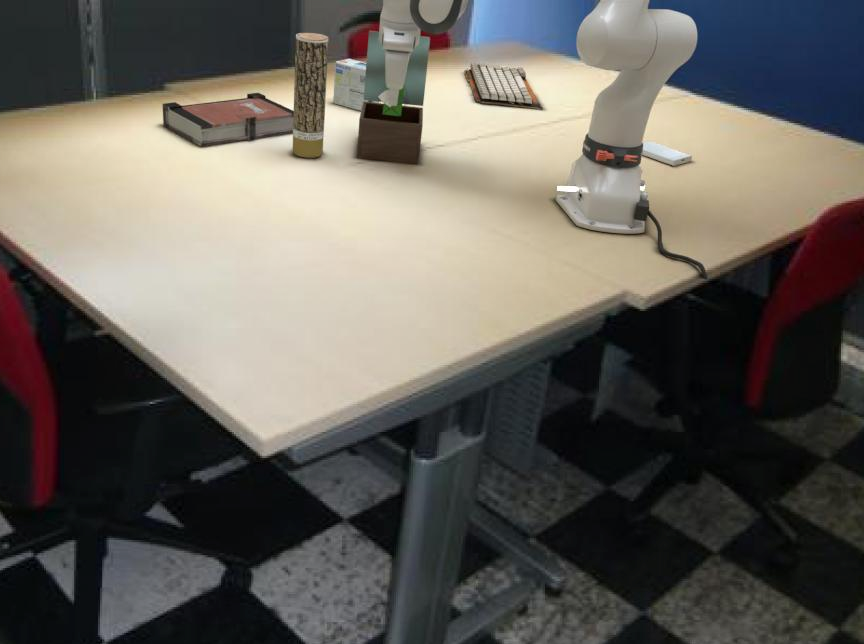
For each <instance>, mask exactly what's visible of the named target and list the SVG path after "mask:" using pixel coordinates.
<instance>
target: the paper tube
mask: <svg viewBox="0 0 864 644" xmlns="http://www.w3.org/2000/svg"><path fill="white" fill-rule="evenodd" d="M294 54H295V55H294V83H293V86H294V87H293V111H294V115H293V133H292V152H293V154H294V155H295V156H297V157H300V158H305V159H315V158H318V157H321V156H322V154H323V153H324V137H325V136H324V135H325V116H326V97H327V79H328V76H327V75H328V58H329V56H328V55H329V36H327V35H325V34H322V33H316V32H299V33H296V34H295V53H294Z"/></svg>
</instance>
